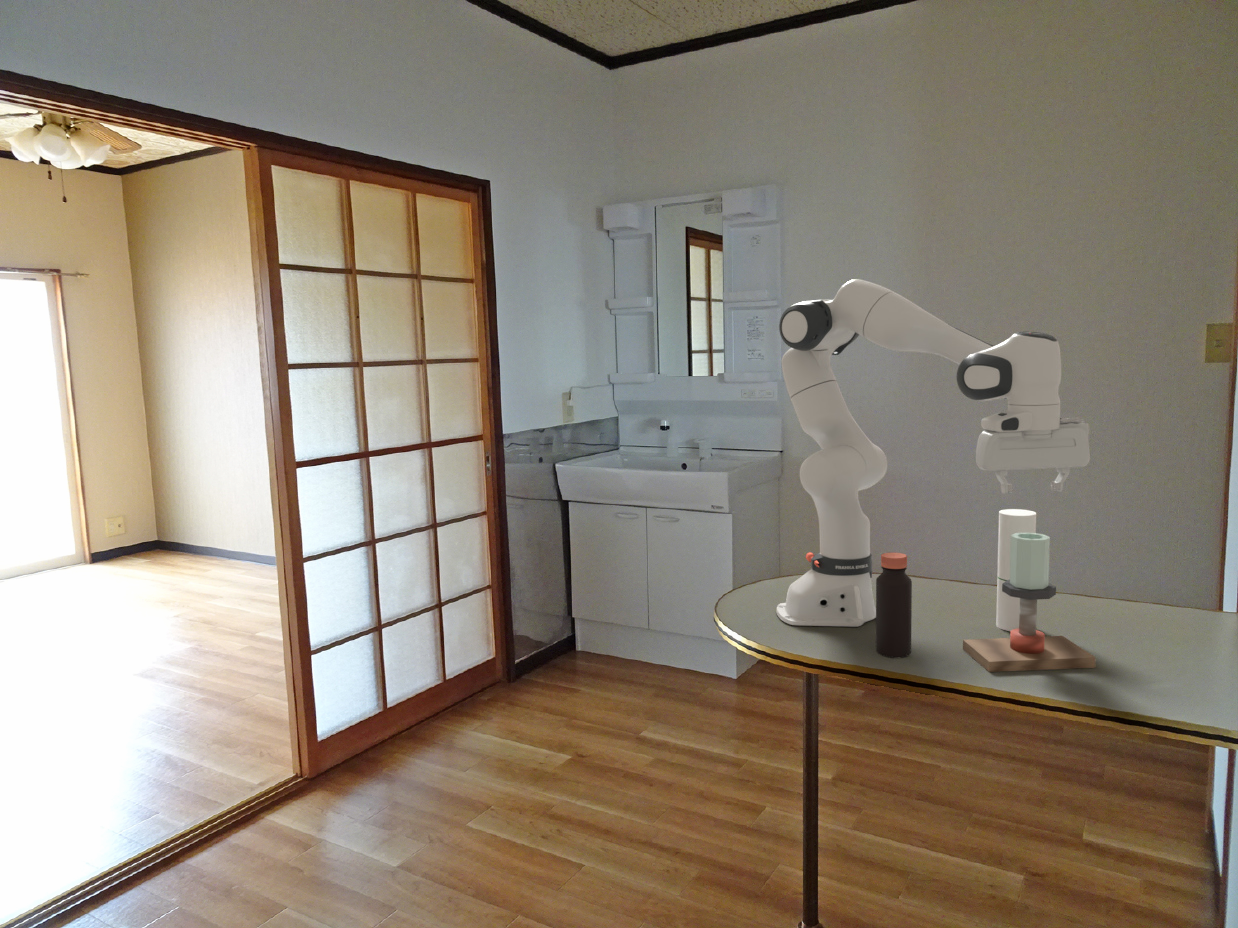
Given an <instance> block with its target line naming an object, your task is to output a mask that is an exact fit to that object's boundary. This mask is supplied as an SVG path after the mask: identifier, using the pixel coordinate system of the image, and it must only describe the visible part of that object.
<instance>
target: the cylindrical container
mask: <svg viewBox="0 0 1238 928" xmlns="http://www.w3.org/2000/svg"><path fill="white" fill-rule="evenodd" d="M1036 531H1037V512H1035V511H1033V510H1029V509H1021V508H1007V509H1001V510H999V511H998V534H997V535H998V539H997V540H998V541H997V575H996V576H997V578H996V579H997V581H996V582H997V583H996V585H997V587H996V620H995V621H996V623H995V626H996V627H997V628H998V629H1000V630H1004V631H1008V632H1010V631H1011V630H1013V629H1017V628H1019V612H1020V598H1017V597H1011V596H1009V595H1008V594H1006V593H1004V592H1003V591H1002V583H1004V582H1006V581H1008V580H1009V579H1010V551H1011V535H1013V534H1015V533H1028V532H1029V533H1036Z"/></svg>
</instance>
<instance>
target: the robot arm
mask: <svg viewBox="0 0 1238 928" xmlns="http://www.w3.org/2000/svg"><path fill="white" fill-rule="evenodd" d="M836 292H837V293H836V294H835V296H834V298H833V299H816V300H806V301H805V300H803V301H801V302H797V303H794V304H793V305H791V306H789V307H788V308H786V309H785V310H784V311H783V313H782V314H781V316H780V319H779V325H778V330H779V334H780V338H781V339H782V341H783V343H784V344H785V345H787V346H788V347H790V348H789V349H788V350H786V351H785V353H784V354H783V355H782V357H781V360H780V361H781V369H782V375H783V379H784V385H785V387H786V391H787V394H788V396H789V399H790V402H791V404H792V406H793V409H794V412H795V415H796V417H797V419H798V422H799V424H800V427H801V429H802V431H803V432H804V433H805V434H806V435H808V436H809V437H811V438H812V439H813V440H814V441H815V442H816V443H817V445H819V447H820V450H817V451H816V452H814V453H812V454H811V455H809V456H808V457H807V458H805V459H804V461H803V462H802V463H801V466H800V467H799V479H800V484H801V486H802V487H803V489H804V491H805V492H806V493H808V494H809V496H810V497H811V499H812V500H813V503H814V506H815V509H816V514H817V518H818V525H819V526H818V527H819V531H818V532H819V552H818V553H816V554H814V553H813V552H807V553H806V554H805V559H806V560H807V561H808V562H809V563H810V567H811V569H809V570H808V571H807V572H806V573H804V574H803V575H801V576H800V577H798V578H797V579H796V580H795V581H793V582H791V583H790V585H789V587H788V590H787V591H786V592H787V594H786V599H785V602H781V603H778V604H777V606H776V615H777V616H778V618H779V620H781V621H782V622H784V623H785V624H787V625H790V626H791V625H792V626H805V627H806V626H809V627H812V626H815V627H817V626H818V627H854V628H855V627H861V626H862V625H864V624H865V623H866V622H869V621H872V620H874V619H876V603H875V600H874V595H873V589H872V588H873V587H872V578H873V555H872V553H871V522H870V518H869V517H868V516H867V515H866V514H865V513H864V511H863V509H862V507H861V504H860V499H859V491H863V490H867V489H869V488H872V486H874V485H876V484H877V483H879V482H880V481H881V480H882V479H883V478H884V477H885V475H886V473H887V470H888V459H887V456H886V454H885V451H883V450H882V449H881V448H880V446H878V445H876V444H874V443H873V442H872V441H871V440H870V439H869V437H868V436H867V435H866V433H865V432H864V431H863V430H862V428H861V427H860V426H859V424H858V423H857V422H856V420H855V418H854V417H853V415H852V413H851V411H850V409H849V407H848V405H847V402H846V401H845V398H844V396H843V394H842V391H841V389H840V386H839V384H838V381H837V378H836V375H835V374H834V371H833V368H832V365H831V359H832V356H839V355H841V353H843V351H844V350H845V349H846V348H847V347H848V346H850V345H851V344H852V343H853V342H854V341H855V340H856V339H857V338H858V337H859V336H861V337H862V338H864V339H866V340H868V341H869V342H871V343H873V344H875V345H877V346H879V347H881V348H882V347H883V348H885V349H887V350H890V351H894V352H906V353H923V354H931V355H932V354H933V355H937V356H939V357H942V358H945V359H947V360H949V361H951V362H953V363H955V364H957V365H958V368H957V371H956V383H957V386H958V389H959V391H960V392H961V393H962V394H963V396H965V397H967V398H968V399H970V400H975V401H979V402H988V401H997V400H1003V399H1004V400H1005V399H1006V400H1007V409H1005V410H1001V411H1000V412H997V413H994V414H991V415H988V416H985V417H983V418H982V419H981V421H980V426H981V428H982V429H984V430H983V431H982V432H981V433H980V434H979V436H978V438H977V441H976V451H975V465H977V467H978V468H979V470H982V471H986V472H994V475H995V476H996V477H995V478H997V481H998V482H999V483H1000V492H1001V494H1003V495H1006V494H1007V495H1008V494H1013V492H1014V490H1013V489H1014V484H1012V483H1009V482H1008V480H1007V479H1006V477H1007V476H1008V471H1017V470H1020V471H1021V470H1040V469H1044V470H1045V469H1056V472H1057V473H1058V474H1057V476H1056V478H1055V479H1054V480H1052V481H1050V490H1051V492H1055V493H1056V492H1063V489H1064V483H1065V481H1066V480H1067V478H1068V476H1069V475H1070V474H1071V473H1070V472H1071V471H1070V470H1071V468H1084V467H1086V466H1087V465H1088V464H1089V463H1090V461H1091V452H1090V442H1089V441H1090V440H1089V436H1090V424H1089V423H1088V422H1087V420H1085V419H1082V418H1081V417H1077V416H1075V417H1061V399H1060V394H1059V387H1060V384H1061V381H1062V356H1061V355H1062V354H1061V348H1060V343H1059V341H1058V339H1057V338H1056V337H1055V336H1053V335H1051V334H1049V333H1046V332H1045V333H1043V332H1039V331H1038V332H1036V331H1022V330H1021V331H1017V332H1015V333H1013V334H1012V335H1011V336H1009V338H1007V339H1005V340H1004V341H1002V342H1000V343H998V344H996V345H992V344H991V343H988V342H986V341H985V340H982V339H979V338H978V337H976V336H973V335H971V334H970V333H967V332H965V331H963V330H962V329H959V328H957V327H955V326H953V325H951V324H949V323H947V322H945V321H943V320H942V319H941V318H938V317H937V316H935V315H934V314H932V313H930V312H928V311H926V310H925V309H924V308H922V307H921V306H919V305H917V304H916V303H914V302H912V301H911V300H910V299H907V298H906V297H904V296H903V295H901V294H899V293H897V292H895V291H893V290H891V289H889V288H887V287H885V286H883V285H880V284H877V283H874V282H871V281H868V280H864V279H861V278H855V279H851V280H849V281H847V282H846V283H844V284H842V285H841V286H840V288H839V289H838V291H836Z"/></svg>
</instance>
